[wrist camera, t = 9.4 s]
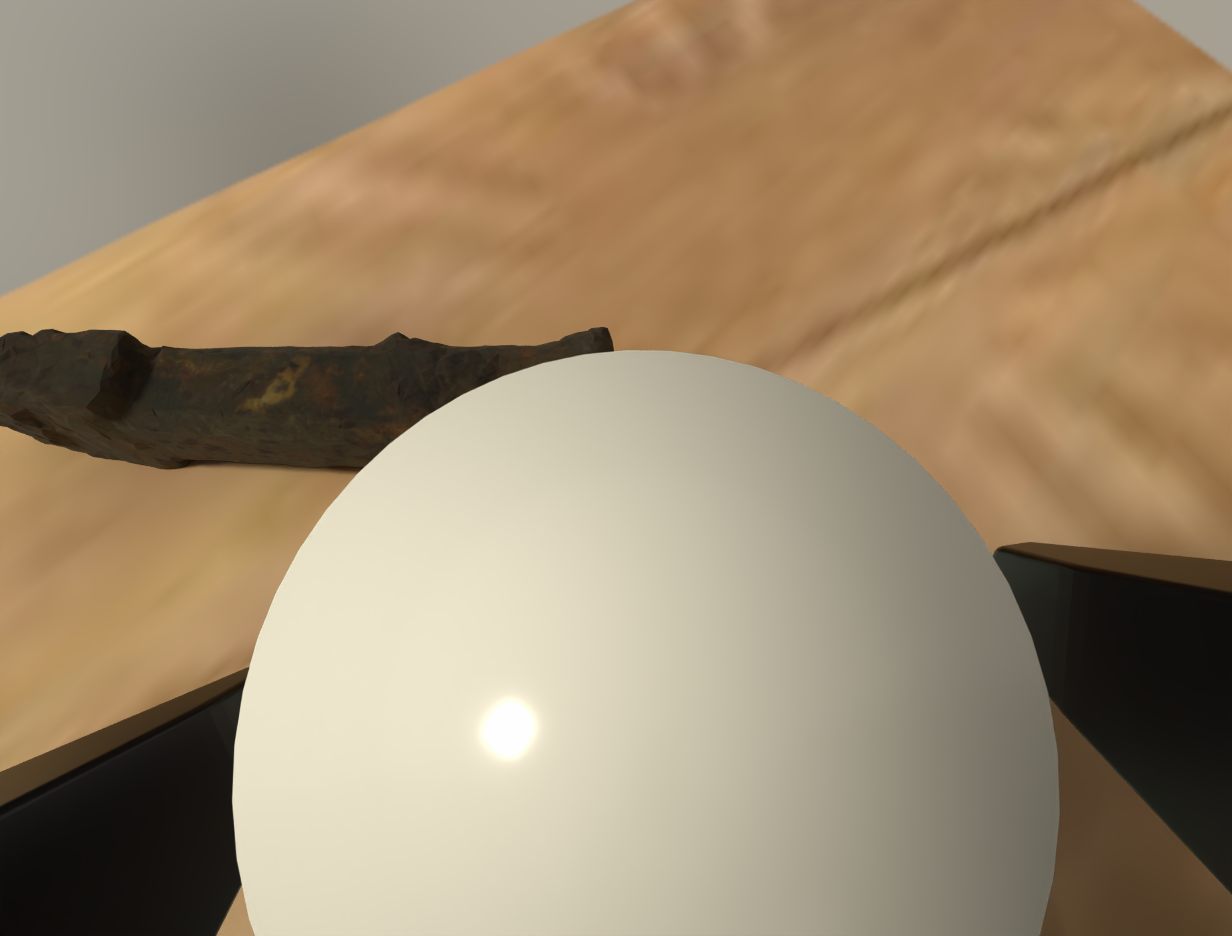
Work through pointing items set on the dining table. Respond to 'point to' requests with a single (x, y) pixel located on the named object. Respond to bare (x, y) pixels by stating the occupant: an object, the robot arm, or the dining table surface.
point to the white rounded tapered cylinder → (645, 679)
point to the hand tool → (244, 394)
